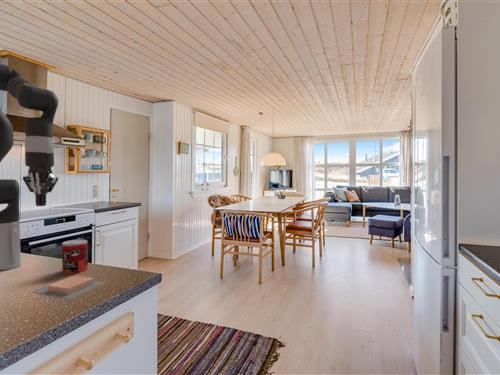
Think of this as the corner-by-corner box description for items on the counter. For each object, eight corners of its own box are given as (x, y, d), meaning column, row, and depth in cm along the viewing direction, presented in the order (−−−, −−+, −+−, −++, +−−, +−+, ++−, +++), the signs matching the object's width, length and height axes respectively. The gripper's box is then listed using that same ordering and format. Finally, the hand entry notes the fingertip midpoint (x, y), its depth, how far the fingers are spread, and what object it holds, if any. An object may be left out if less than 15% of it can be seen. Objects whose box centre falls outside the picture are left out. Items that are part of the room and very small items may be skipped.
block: (47, 285, 87) (68, 288, 85) (74, 275, 96) (93, 278, 93) (47, 291, 87) (68, 294, 85) (74, 280, 96) (93, 283, 94)
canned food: (57, 274, 104) (56, 243, 104) (77, 267, 112) (76, 238, 111) (73, 276, 102) (73, 245, 101) (92, 269, 109) (92, 240, 109)
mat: (31, 294, 87) (31, 292, 87) (70, 279, 99) (70, 277, 99) (70, 300, 82) (70, 298, 82) (106, 284, 95) (106, 282, 95)
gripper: (12, 151, 92) (14, 206, 93) (43, 150, 88) (44, 208, 89) (36, 152, 100) (37, 204, 100) (66, 152, 95) (67, 205, 96)
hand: (41, 205), depth 95 cm, fingers closed
